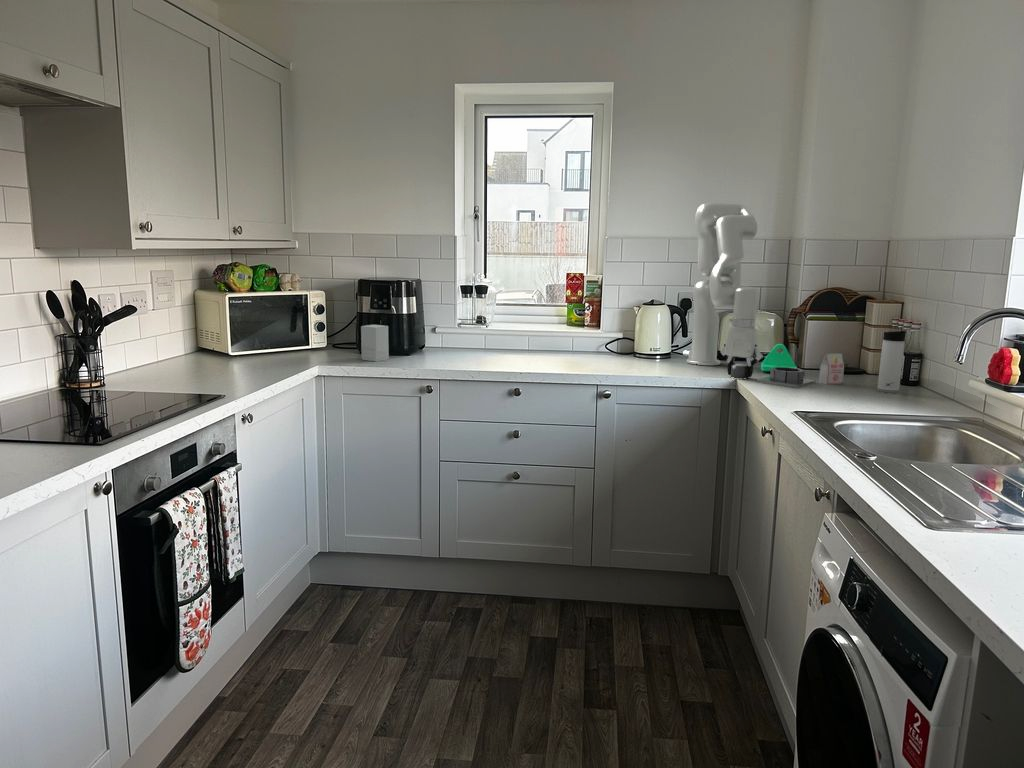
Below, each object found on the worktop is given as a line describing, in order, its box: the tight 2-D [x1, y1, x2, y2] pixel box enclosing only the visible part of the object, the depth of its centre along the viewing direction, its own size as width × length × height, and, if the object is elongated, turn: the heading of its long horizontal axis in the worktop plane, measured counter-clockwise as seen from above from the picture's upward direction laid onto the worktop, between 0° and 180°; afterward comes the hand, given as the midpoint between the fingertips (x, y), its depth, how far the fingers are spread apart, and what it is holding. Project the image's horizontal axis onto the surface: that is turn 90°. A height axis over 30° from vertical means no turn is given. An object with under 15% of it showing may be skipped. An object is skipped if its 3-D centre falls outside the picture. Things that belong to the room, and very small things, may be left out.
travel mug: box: [876, 330, 907, 394], centre depth 244 cm, size 6×7×20 cm
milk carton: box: [818, 353, 845, 385], centre depth 259 cm, size 4×7×10 cm, turn 110°
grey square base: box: [756, 367, 817, 389], centre depth 258 cm, size 14×14×4 cm
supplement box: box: [360, 324, 390, 362], centre depth 284 cm, size 7×7×13 cm
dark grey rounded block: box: [730, 363, 750, 379], centre depth 266 cm, size 6×6×4 cm
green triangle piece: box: [760, 343, 798, 372], centre depth 278 cm, size 12×8×10 cm, turn 74°
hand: (739, 375), depth 266 cm, fingers closed on dark grey rounded block, 5 cm apart
